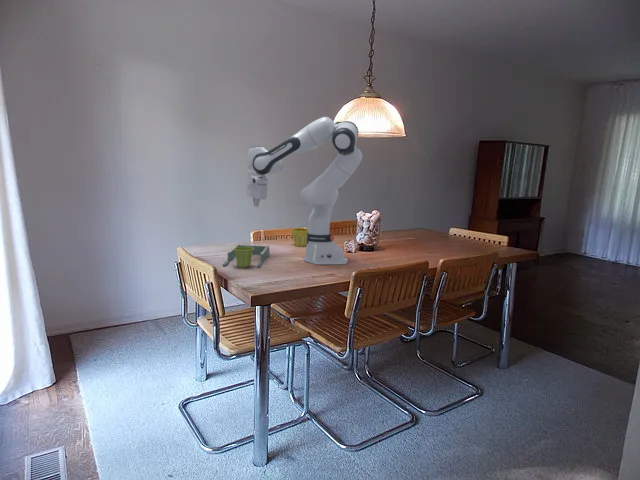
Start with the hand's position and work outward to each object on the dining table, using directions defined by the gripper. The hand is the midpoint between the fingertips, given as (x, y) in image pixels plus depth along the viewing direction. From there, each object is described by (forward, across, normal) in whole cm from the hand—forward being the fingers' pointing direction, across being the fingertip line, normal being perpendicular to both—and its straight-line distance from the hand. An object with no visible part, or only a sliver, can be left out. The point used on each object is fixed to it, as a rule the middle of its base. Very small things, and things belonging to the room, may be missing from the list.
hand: (256, 206), depth 223 cm
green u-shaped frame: (+26, +2, -4) cm, 27 cm away
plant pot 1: (+26, +17, -13) cm, 34 cm away
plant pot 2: (+26, -19, +35) cm, 48 cm away
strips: (+26, +16, -13) cm, 33 cm away
